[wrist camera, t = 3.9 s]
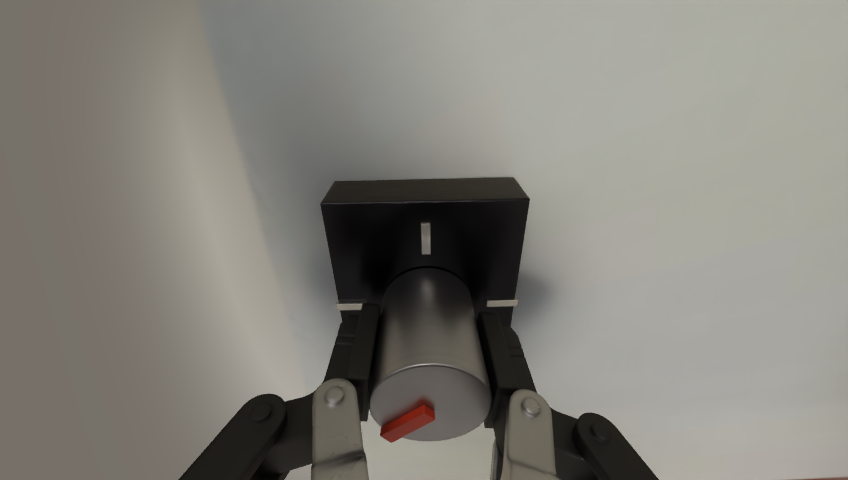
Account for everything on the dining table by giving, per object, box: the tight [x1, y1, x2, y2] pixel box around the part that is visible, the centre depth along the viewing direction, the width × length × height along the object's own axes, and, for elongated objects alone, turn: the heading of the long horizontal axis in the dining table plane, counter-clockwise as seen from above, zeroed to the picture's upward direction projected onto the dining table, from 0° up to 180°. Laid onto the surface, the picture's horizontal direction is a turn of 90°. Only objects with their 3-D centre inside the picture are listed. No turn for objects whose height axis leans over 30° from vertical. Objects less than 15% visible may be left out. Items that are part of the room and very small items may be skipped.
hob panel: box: [320, 177, 530, 326], centre depth 16 cm, size 10×8×3 cm
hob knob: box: [368, 268, 493, 442], centre depth 13 cm, size 4×4×5 cm
